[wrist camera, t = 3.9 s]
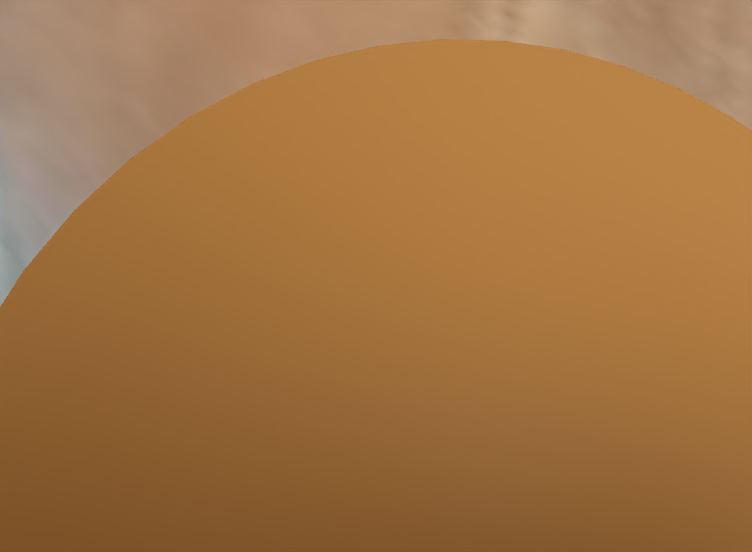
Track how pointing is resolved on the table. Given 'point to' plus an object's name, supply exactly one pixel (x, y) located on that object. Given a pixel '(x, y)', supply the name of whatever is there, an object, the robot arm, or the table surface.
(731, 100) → the table surface
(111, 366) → the pin
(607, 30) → the table surface
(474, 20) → the table surface
